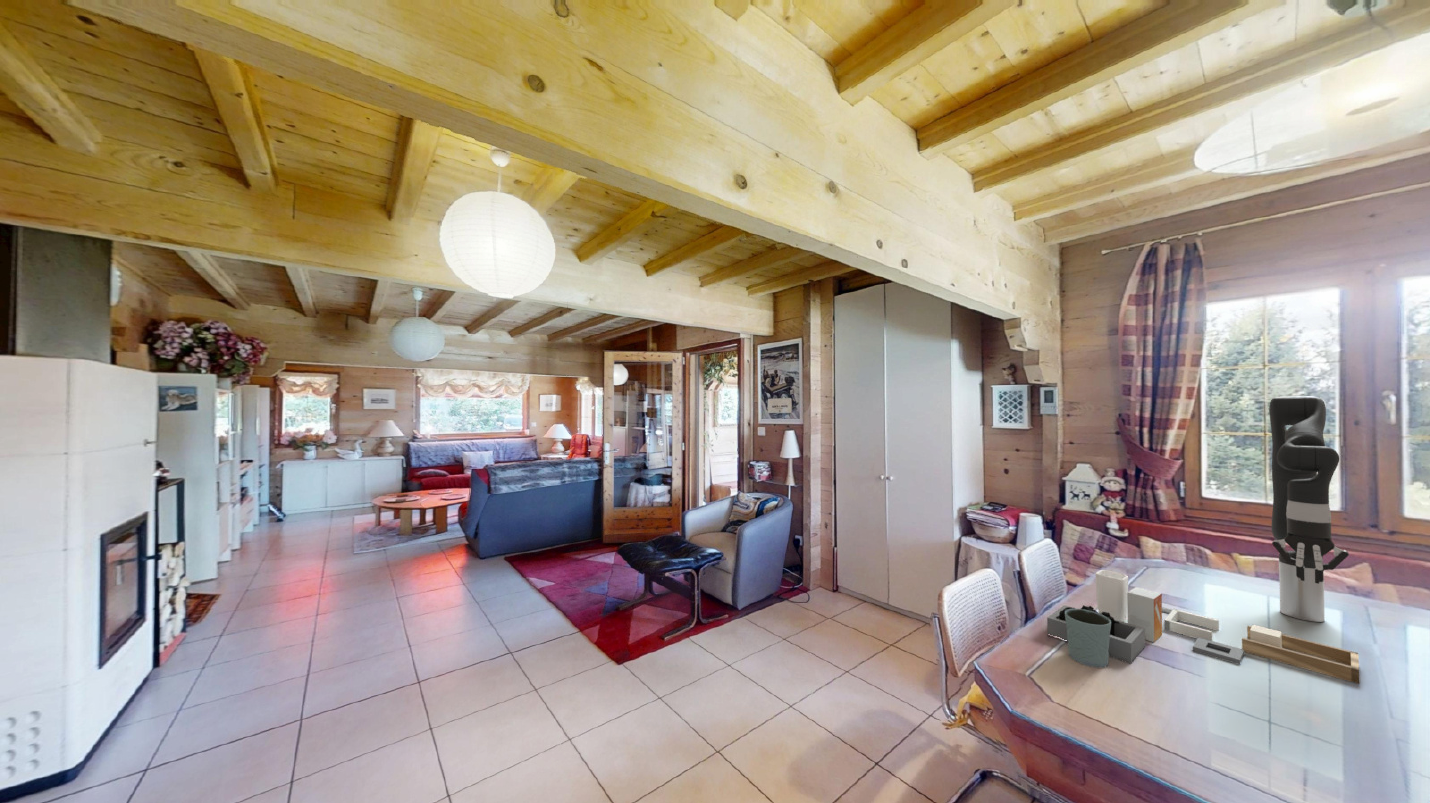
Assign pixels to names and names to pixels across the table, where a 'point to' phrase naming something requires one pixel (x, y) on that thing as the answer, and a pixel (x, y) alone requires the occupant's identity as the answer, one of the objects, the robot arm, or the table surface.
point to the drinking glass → (1088, 637)
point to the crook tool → (1166, 610)
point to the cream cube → (1266, 636)
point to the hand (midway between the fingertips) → (1309, 581)
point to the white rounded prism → (1112, 593)
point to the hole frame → (1218, 650)
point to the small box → (1145, 611)
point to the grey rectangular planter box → (1120, 646)
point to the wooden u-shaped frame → (1308, 656)
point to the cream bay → (1189, 630)
